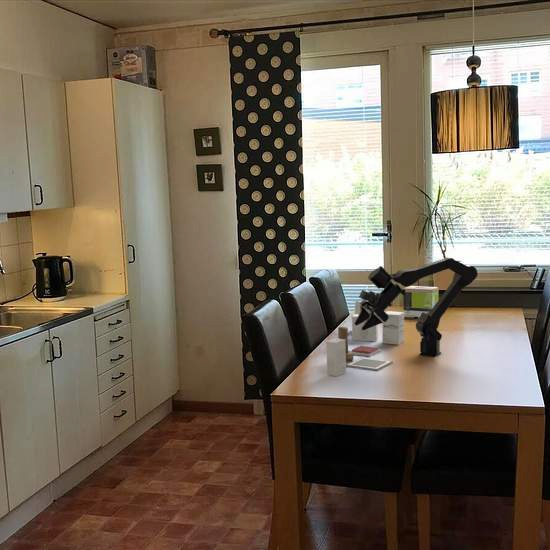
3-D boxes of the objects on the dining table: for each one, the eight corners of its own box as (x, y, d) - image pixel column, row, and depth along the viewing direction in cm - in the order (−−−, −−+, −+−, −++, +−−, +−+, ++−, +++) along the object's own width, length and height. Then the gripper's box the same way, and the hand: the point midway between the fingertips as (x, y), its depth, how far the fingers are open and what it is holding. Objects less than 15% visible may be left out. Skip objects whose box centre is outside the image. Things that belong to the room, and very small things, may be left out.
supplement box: (381, 343, 287) (381, 313, 285) (387, 340, 293) (387, 310, 292) (399, 345, 283) (399, 314, 282) (404, 341, 290) (404, 311, 288)
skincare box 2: (378, 338, 297) (378, 314, 296) (376, 341, 291) (376, 316, 290) (354, 337, 300) (353, 313, 299) (351, 340, 294) (351, 316, 292)
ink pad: (380, 351, 272) (380, 347, 272) (370, 356, 265) (370, 352, 265) (360, 349, 277) (359, 345, 277) (349, 354, 270) (349, 349, 270)
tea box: (439, 316, 343) (439, 286, 342) (432, 319, 335) (432, 289, 333) (410, 313, 351) (410, 285, 350) (402, 317, 343) (402, 287, 341)
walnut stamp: (348, 357, 264) (348, 325, 263) (353, 361, 258) (352, 328, 257) (333, 358, 263) (333, 326, 262) (337, 362, 257) (337, 329, 256)
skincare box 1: (336, 370, 246) (335, 337, 244) (346, 372, 243) (345, 339, 242) (326, 374, 241) (325, 341, 240) (336, 376, 238) (336, 342, 237)
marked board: (393, 362, 255) (393, 361, 255) (377, 371, 244) (377, 369, 244) (361, 358, 262) (361, 357, 262) (345, 366, 251) (345, 364, 251)
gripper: (364, 279, 268) (337, 308, 268) (380, 285, 250) (350, 317, 250) (384, 298, 271) (357, 327, 270) (400, 306, 252) (371, 337, 252)
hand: (358, 327), depth 260 cm, fingers open, 9 cm apart
